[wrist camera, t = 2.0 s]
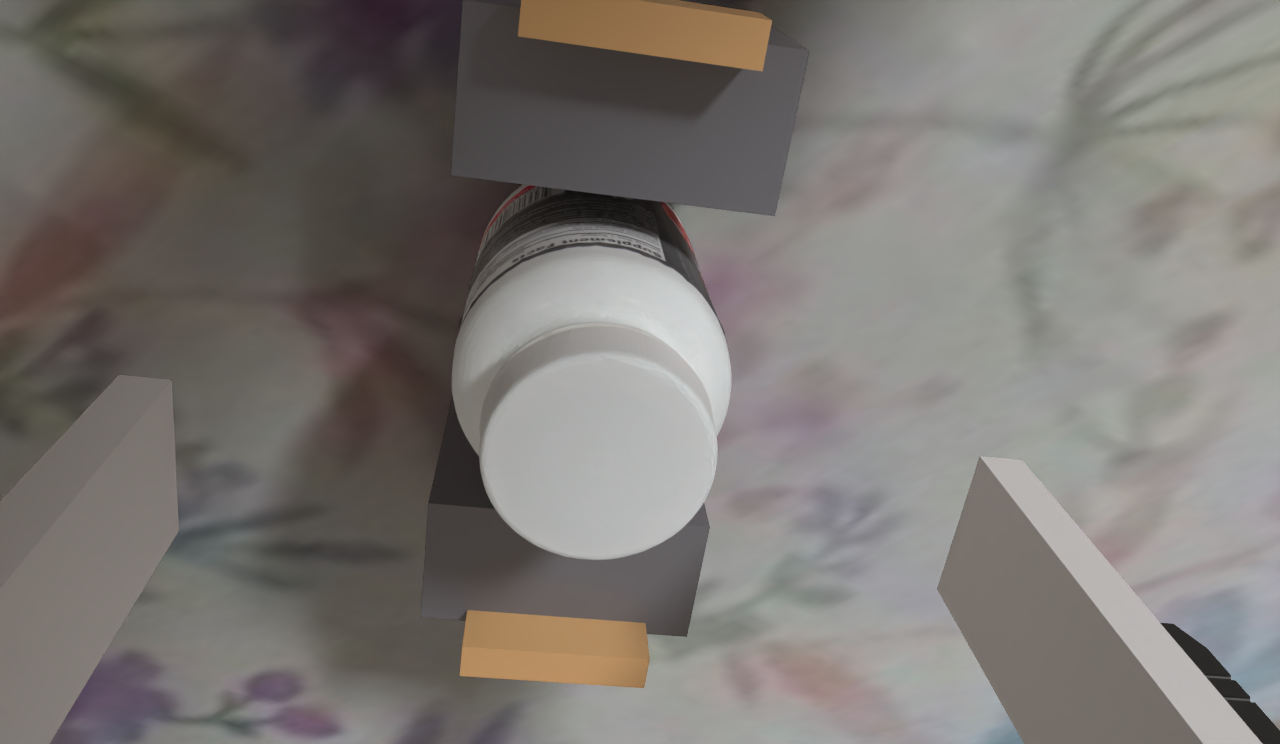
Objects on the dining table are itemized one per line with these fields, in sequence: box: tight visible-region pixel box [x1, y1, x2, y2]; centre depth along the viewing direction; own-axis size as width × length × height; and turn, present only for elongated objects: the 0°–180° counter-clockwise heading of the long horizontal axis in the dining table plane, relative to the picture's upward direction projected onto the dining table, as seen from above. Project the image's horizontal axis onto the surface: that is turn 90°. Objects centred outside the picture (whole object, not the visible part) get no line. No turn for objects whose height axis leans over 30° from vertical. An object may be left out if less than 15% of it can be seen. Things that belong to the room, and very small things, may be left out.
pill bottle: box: [452, 184, 731, 560], centre depth 21 cm, size 5×5×10 cm
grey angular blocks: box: [421, 0, 809, 688], centre depth 22 cm, size 14×6×7 cm, turn 172°
